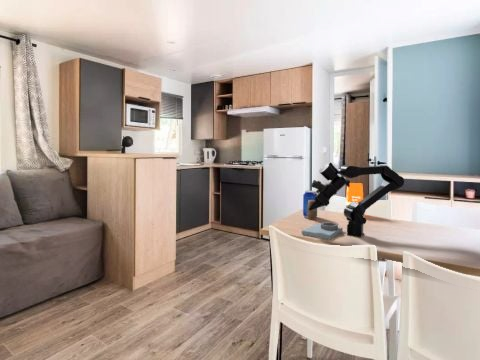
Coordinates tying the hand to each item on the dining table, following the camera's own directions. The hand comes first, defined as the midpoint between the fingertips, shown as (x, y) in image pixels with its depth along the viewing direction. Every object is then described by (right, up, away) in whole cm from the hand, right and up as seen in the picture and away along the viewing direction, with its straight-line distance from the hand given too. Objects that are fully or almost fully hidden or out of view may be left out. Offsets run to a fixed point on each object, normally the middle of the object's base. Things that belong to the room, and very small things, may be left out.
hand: (309, 208), depth 146 cm
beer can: (+9, -9, +38) cm, 40 cm away
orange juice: (+38, -8, +44) cm, 59 cm away
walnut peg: (+1, -5, 0) cm, 5 cm away
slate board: (+7, -12, +3) cm, 15 cm away
